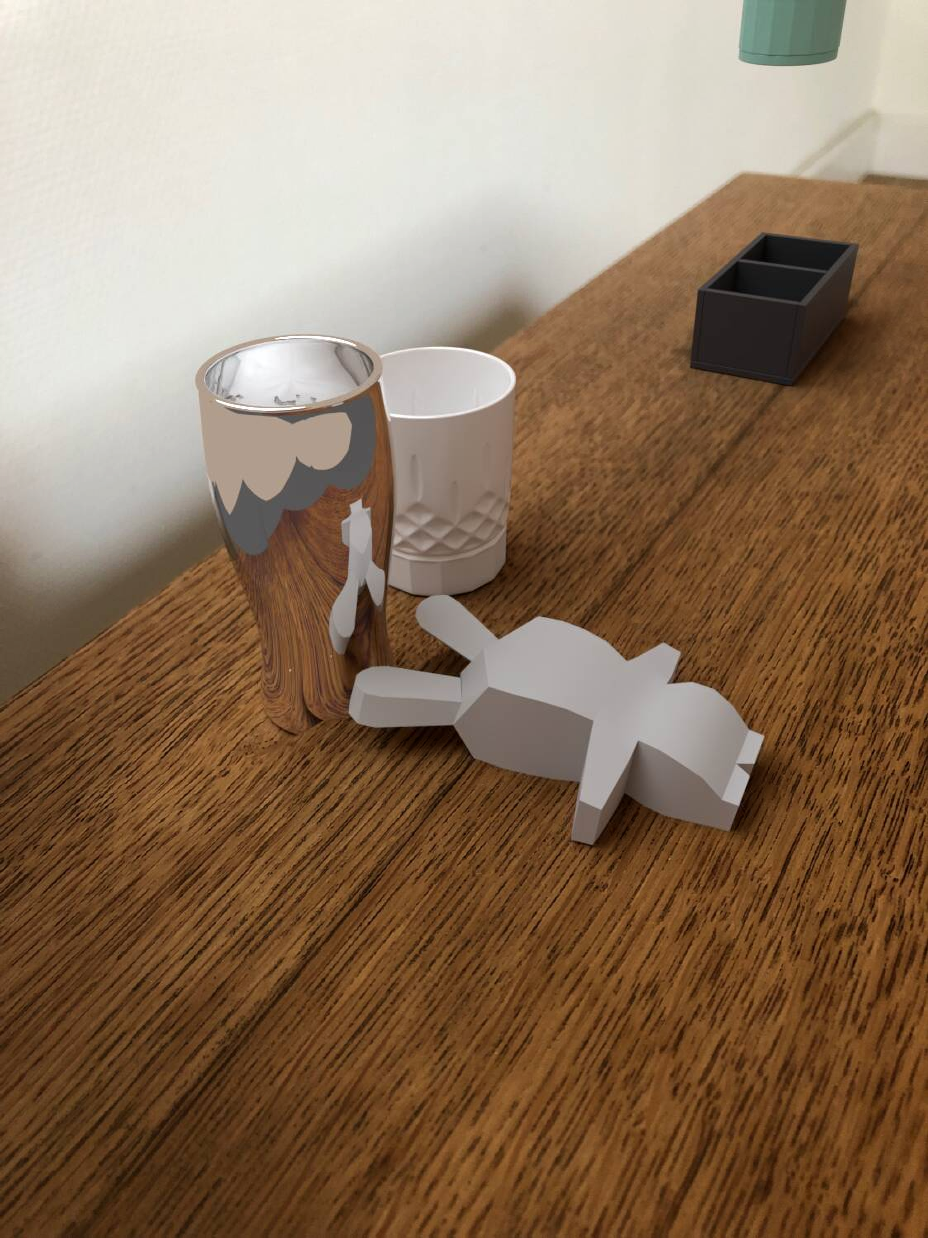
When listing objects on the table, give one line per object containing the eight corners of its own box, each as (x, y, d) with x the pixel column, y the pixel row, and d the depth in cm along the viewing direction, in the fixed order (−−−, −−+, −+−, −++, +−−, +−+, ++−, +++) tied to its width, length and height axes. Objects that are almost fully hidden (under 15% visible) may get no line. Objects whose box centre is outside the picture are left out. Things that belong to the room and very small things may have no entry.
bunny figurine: (729, 833, 32) (326, 669, 37) (694, 925, 36) (328, 764, 40) (792, 660, 39) (445, 539, 44) (758, 751, 42) (438, 630, 47)
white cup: (430, 626, 48) (417, 434, 42) (334, 559, 53) (310, 379, 47) (548, 561, 52) (551, 378, 46) (448, 505, 57) (440, 333, 51)
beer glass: (238, 664, 46) (174, 348, 37) (384, 628, 48) (357, 319, 39) (270, 765, 41) (206, 427, 32) (432, 721, 43) (415, 390, 34)
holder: (844, 317, 78) (859, 243, 74) (792, 386, 68) (806, 305, 65) (751, 303, 81) (761, 231, 77) (689, 367, 71) (697, 288, 68)
